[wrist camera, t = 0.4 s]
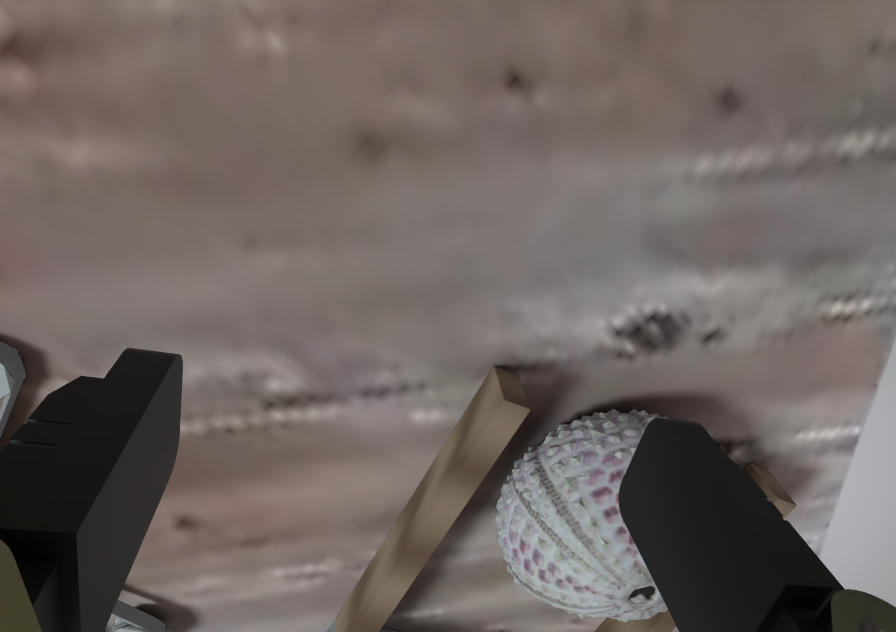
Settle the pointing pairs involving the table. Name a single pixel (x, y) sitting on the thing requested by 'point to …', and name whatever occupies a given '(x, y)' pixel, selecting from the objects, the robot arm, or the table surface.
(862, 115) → the table surface
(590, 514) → the sea urchin shell
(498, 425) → the track
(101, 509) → the robot arm
